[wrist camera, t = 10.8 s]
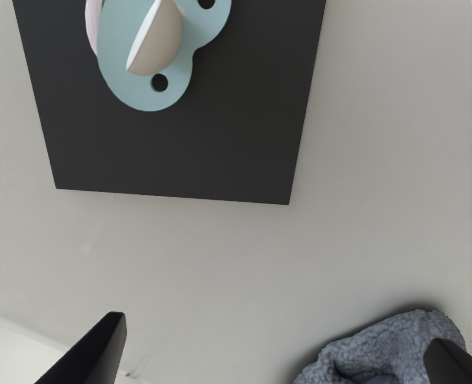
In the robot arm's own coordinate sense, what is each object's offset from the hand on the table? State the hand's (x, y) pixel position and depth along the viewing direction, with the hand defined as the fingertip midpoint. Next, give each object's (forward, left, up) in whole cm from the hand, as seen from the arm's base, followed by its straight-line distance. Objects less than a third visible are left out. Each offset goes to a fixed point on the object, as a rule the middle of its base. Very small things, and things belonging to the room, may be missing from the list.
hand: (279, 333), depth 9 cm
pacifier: (+6, -8, -12) cm, 15 cm away
